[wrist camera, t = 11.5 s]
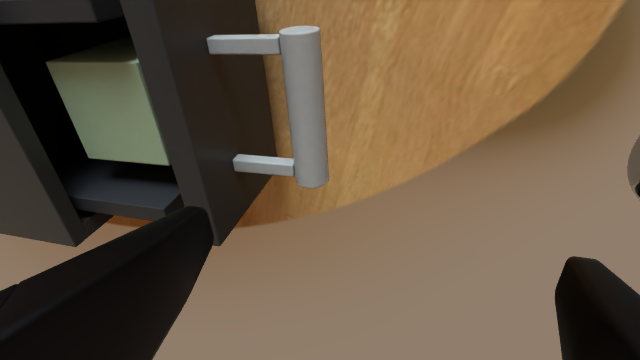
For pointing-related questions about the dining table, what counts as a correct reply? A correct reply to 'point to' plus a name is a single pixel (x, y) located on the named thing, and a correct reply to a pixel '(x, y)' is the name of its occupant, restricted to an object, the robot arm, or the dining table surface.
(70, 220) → the cabinet
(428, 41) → the dining table surface
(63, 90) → the block
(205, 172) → the drawer
